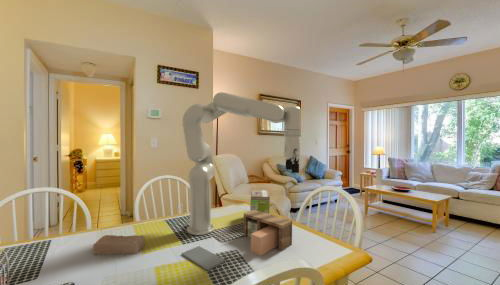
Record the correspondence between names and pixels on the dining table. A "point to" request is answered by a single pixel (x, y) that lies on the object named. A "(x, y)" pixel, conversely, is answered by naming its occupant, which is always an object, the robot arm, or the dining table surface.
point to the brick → (118, 244)
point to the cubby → (261, 220)
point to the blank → (264, 240)
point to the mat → (203, 258)
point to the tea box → (260, 201)
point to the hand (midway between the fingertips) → (292, 171)
